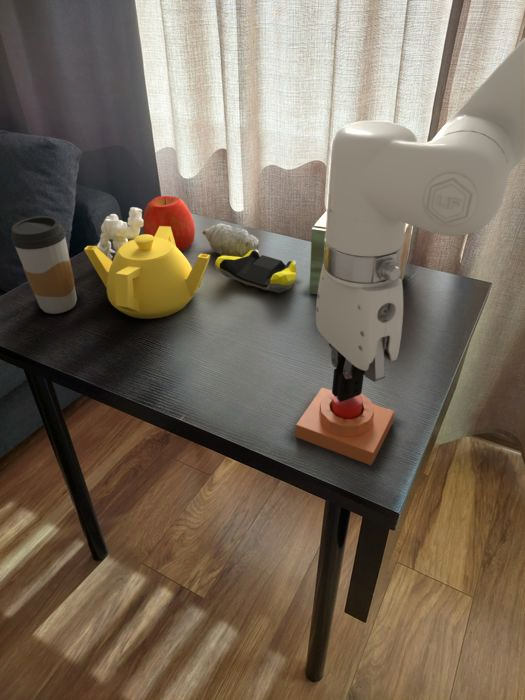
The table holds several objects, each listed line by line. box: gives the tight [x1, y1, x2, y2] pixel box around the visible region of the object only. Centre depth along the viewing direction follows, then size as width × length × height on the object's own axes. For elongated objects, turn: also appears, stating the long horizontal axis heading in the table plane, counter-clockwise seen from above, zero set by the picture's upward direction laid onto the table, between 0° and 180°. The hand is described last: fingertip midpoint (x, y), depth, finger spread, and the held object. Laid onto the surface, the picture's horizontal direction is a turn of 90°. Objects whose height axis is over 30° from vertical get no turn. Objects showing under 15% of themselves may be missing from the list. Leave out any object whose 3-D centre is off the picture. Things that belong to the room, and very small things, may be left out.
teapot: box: [83, 226, 211, 320], centre depth 90 cm, size 17×17×12 cm
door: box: [309, 226, 326, 295], centre depth 86 cm, size 6×15×12 cm, turn 68°
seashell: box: [202, 222, 262, 257], centre depth 105 cm, size 6×14×8 cm, turn 52°
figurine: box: [96, 206, 144, 261], centre depth 100 cm, size 10×5×12 cm, turn 80°
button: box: [332, 395, 363, 419], centre depth 64 cm, size 4×4×2 cm
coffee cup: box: [10, 215, 78, 315], centre depth 88 cm, size 8×8×15 cm
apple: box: [142, 195, 196, 252], centre depth 108 cm, size 11×11×11 cm
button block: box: [295, 387, 395, 466], centre depth 66 cm, size 10×8×4 cm
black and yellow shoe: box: [214, 250, 297, 294], centre depth 95 cm, size 15×6×10 cm
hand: (346, 394), depth 63 cm, fingers closed
